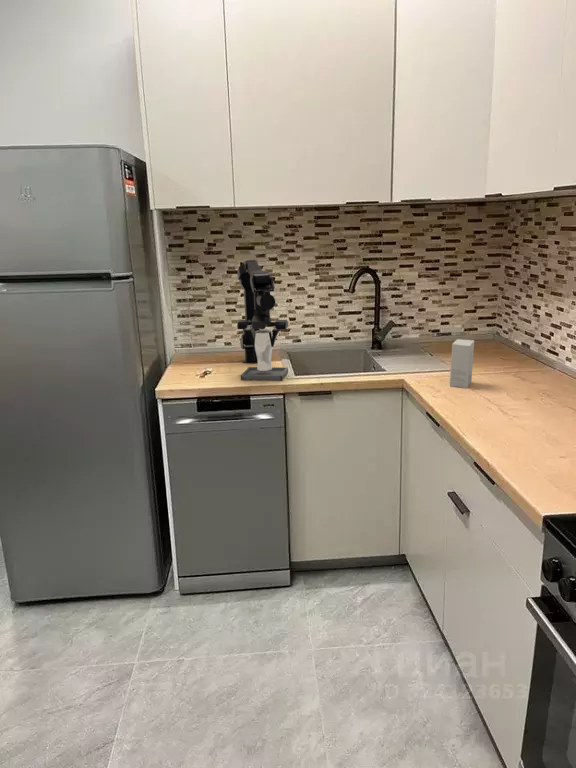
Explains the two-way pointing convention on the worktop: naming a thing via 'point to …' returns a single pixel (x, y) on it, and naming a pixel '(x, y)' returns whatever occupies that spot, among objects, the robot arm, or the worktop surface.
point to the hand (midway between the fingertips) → (263, 346)
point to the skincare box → (461, 363)
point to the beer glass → (263, 349)
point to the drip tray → (264, 374)
